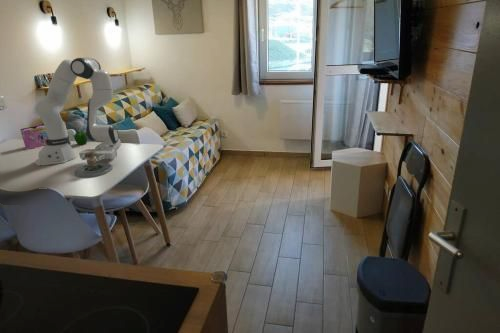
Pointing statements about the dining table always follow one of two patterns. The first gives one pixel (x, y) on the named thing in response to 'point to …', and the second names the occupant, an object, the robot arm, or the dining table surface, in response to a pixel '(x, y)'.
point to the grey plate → (85, 173)
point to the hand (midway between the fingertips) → (90, 158)
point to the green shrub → (80, 138)
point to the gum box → (34, 136)
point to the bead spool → (91, 161)
